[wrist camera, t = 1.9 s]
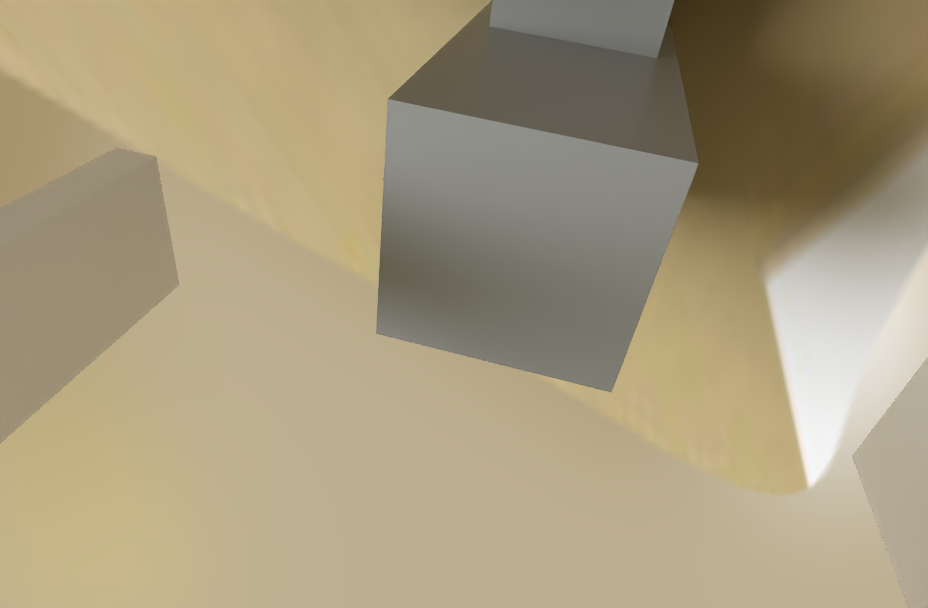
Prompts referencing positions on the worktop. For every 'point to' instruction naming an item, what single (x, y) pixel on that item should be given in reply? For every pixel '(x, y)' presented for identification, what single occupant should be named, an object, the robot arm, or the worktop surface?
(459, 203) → the block
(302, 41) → the worktop surface
